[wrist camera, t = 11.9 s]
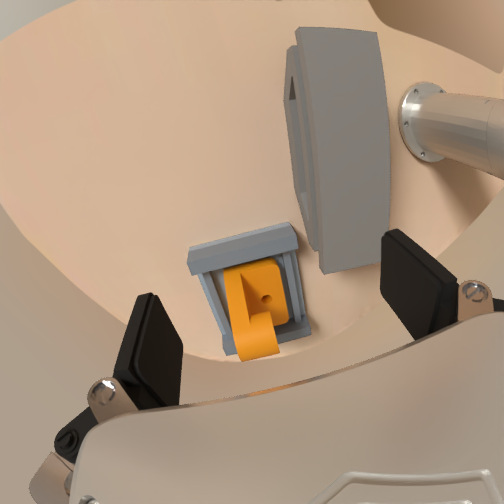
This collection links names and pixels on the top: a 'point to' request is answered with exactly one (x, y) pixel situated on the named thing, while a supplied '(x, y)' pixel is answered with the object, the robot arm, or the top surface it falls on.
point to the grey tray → (244, 251)
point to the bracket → (255, 307)
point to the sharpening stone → (339, 143)
